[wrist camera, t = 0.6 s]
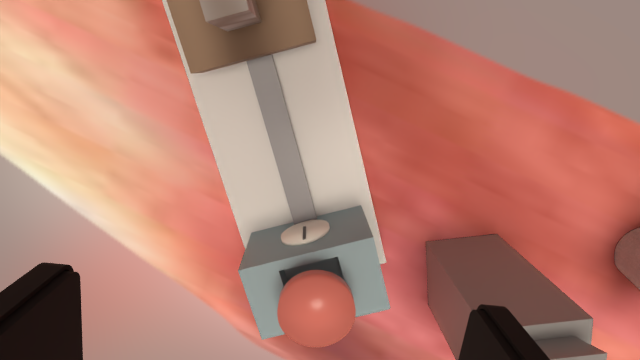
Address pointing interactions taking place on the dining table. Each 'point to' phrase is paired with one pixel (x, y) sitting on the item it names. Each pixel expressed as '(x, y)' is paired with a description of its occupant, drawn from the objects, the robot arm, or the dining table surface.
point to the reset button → (316, 308)
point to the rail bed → (284, 134)
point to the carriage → (238, 30)
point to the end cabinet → (312, 263)
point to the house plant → (629, 256)
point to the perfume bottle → (503, 296)
